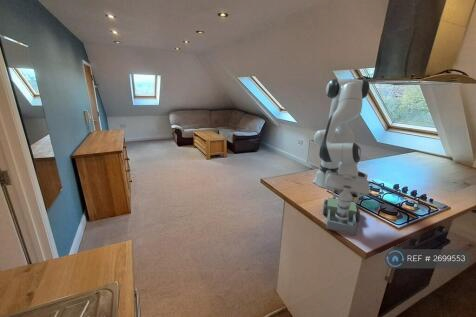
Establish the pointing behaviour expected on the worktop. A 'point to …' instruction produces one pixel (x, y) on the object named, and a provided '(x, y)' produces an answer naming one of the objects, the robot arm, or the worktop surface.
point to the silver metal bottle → (343, 205)
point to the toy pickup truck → (348, 228)
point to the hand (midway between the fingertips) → (344, 200)
